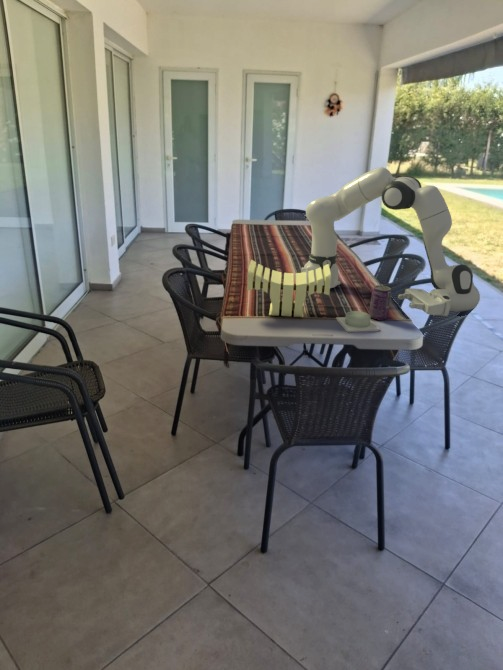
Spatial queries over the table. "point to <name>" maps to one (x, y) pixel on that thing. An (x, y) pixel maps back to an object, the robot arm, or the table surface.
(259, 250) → the table surface
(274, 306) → the slatted curved stool
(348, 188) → the robot arm
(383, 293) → the beverage can
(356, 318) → the pedestal stand
